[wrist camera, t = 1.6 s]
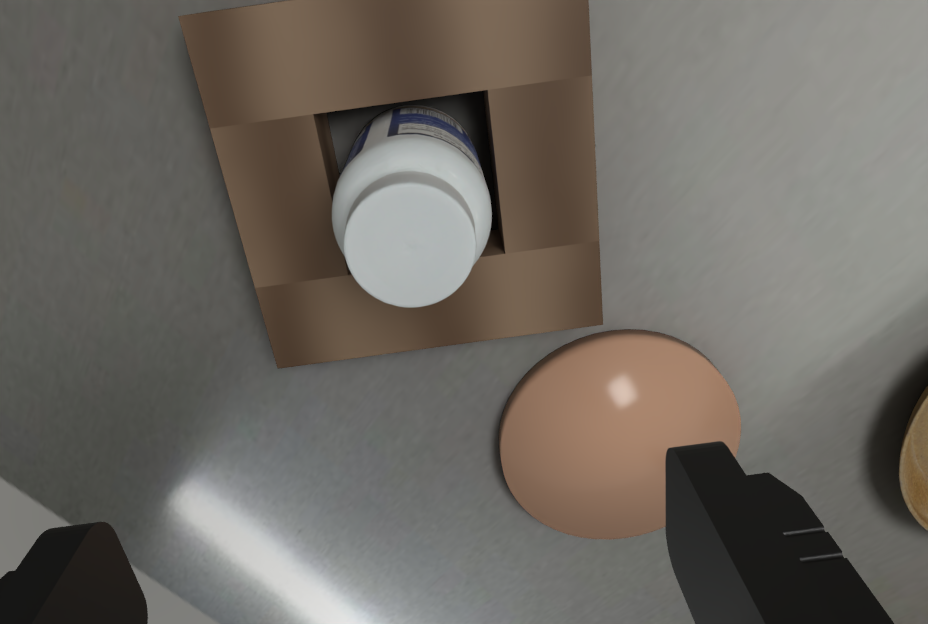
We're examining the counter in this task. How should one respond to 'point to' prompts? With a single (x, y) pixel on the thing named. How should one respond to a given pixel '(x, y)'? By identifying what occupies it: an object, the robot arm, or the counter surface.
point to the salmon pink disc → (610, 430)
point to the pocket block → (390, 81)
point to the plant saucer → (916, 462)
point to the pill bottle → (412, 207)
